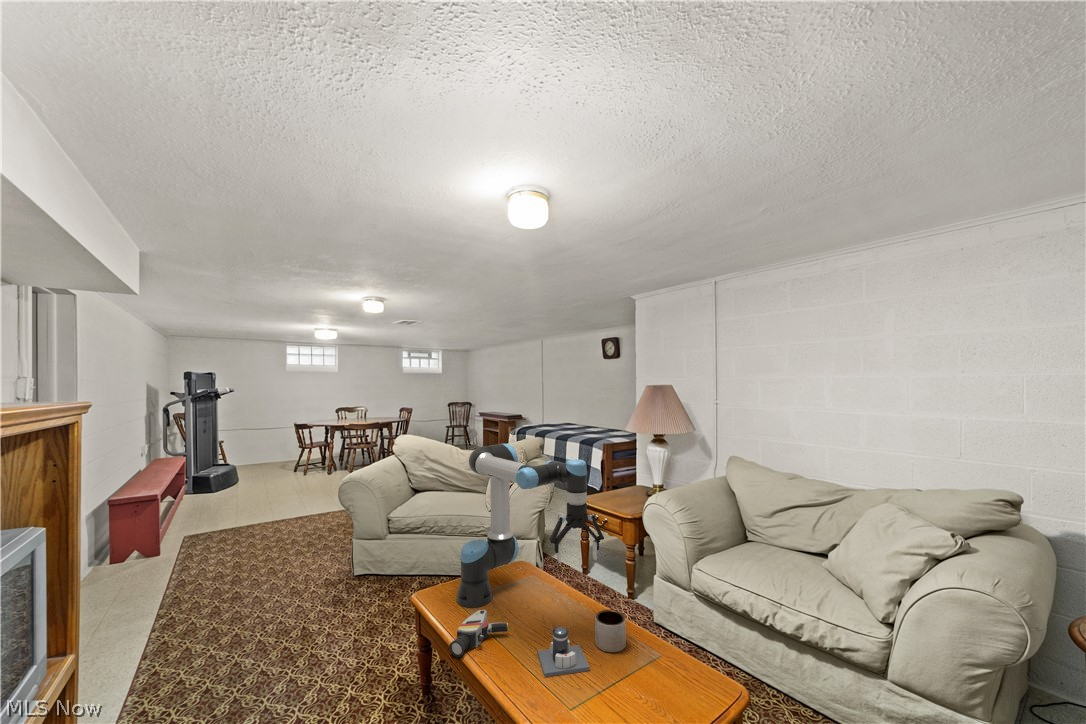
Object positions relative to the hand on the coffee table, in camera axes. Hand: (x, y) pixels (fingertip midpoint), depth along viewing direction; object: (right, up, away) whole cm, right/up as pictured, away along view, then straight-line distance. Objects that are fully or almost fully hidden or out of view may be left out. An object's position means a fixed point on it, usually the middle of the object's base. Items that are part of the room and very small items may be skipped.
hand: (577, 560), depth 165 cm
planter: (+11, -28, -6) cm, 30 cm away
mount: (-6, -27, -16) cm, 32 cm away
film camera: (-35, -28, -5) cm, 45 cm away
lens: (-7, -26, -16) cm, 31 cm away
